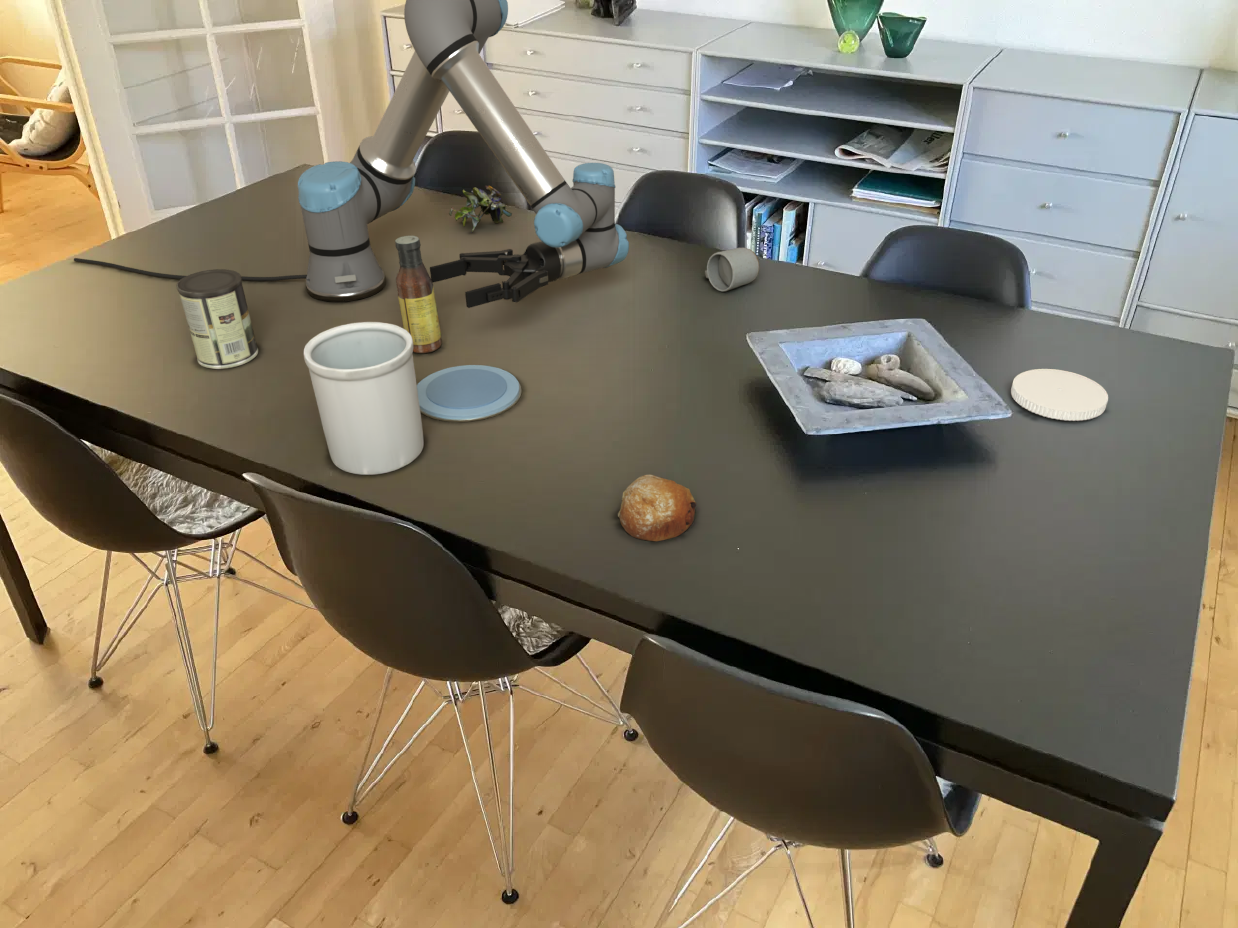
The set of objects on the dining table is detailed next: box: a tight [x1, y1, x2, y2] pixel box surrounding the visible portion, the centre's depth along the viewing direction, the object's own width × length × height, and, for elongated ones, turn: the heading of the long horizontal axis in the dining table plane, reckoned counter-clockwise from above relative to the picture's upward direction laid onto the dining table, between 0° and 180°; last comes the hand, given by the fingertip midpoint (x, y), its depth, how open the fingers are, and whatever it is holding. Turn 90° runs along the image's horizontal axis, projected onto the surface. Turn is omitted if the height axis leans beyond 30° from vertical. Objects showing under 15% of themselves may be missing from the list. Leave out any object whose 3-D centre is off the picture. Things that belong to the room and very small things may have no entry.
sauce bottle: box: [394, 235, 442, 354], centre depth 170 cm, size 6×6×20 cm
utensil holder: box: [303, 321, 425, 476], centre depth 142 cm, size 15×15×18 cm
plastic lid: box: [1010, 368, 1109, 422], centre depth 156 cm, size 14×14×2 cm
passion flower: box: [448, 185, 513, 234], centre depth 224 cm, size 11×11×12 cm
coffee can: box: [175, 268, 259, 370], centre depth 169 cm, size 10×10×14 cm
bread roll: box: [617, 473, 697, 542], centre depth 130 cm, size 10×10×8 cm
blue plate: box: [417, 364, 523, 423], centre depth 160 cm, size 18×18×1 cm
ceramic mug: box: [704, 247, 760, 293], centre depth 196 cm, size 11×8×8 cm
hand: (448, 287), depth 173 cm, fingers open, 13 cm apart
